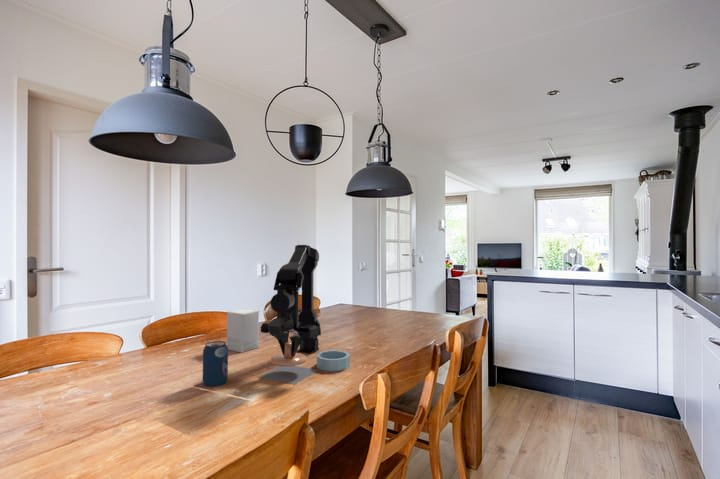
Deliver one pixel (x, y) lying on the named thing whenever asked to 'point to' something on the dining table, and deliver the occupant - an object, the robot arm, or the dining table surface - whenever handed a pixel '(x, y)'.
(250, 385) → the dining table surface
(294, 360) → the lid
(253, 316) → the supplement box
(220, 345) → the soda can
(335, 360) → the bowl
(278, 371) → the mat
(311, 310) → the robot arm
